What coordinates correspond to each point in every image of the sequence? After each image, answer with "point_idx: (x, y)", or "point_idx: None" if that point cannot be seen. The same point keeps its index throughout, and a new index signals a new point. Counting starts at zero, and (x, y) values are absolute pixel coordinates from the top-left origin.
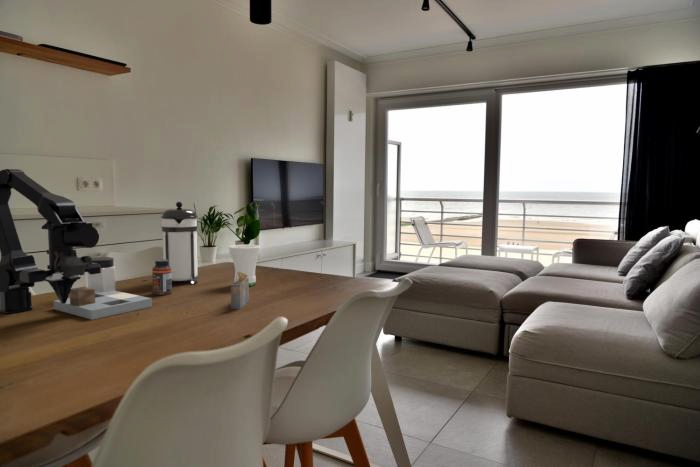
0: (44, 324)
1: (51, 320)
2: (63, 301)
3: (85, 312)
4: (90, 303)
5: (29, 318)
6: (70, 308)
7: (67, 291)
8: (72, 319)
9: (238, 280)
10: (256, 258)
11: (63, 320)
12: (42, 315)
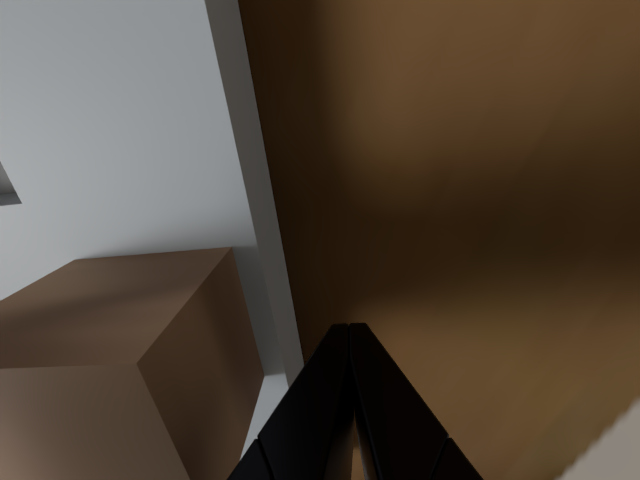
0: (591, 109)
1: (473, 207)
2: (361, 333)
3: (230, 48)
4: (117, 258)
5: (521, 364)
6: (284, 317)
7: (305, 436)
8: (350, 105)
9: None
10: None
11: (416, 130)
12: (430, 377)
